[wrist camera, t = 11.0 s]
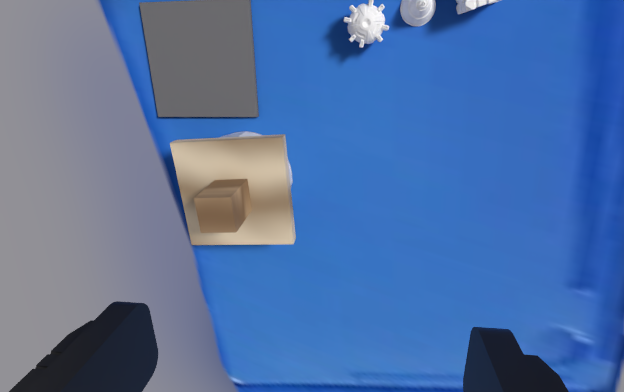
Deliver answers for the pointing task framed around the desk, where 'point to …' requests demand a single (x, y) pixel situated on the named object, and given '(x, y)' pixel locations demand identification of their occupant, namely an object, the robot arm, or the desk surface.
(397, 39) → the desk surface
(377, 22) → the game pieces
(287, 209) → the lid
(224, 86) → the mat
